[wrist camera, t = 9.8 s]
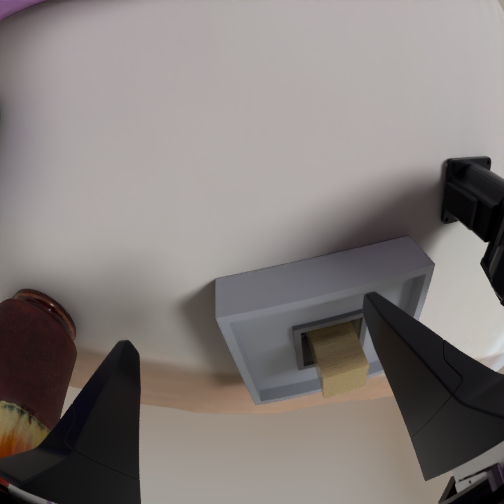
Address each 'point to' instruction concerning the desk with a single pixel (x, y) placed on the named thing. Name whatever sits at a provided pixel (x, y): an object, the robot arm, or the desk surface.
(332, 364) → the connector plug
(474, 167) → the robot arm
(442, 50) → the desk surface
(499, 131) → the desk surface
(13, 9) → the lavender hourglass shape
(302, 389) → the grey socket tray
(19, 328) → the vase
